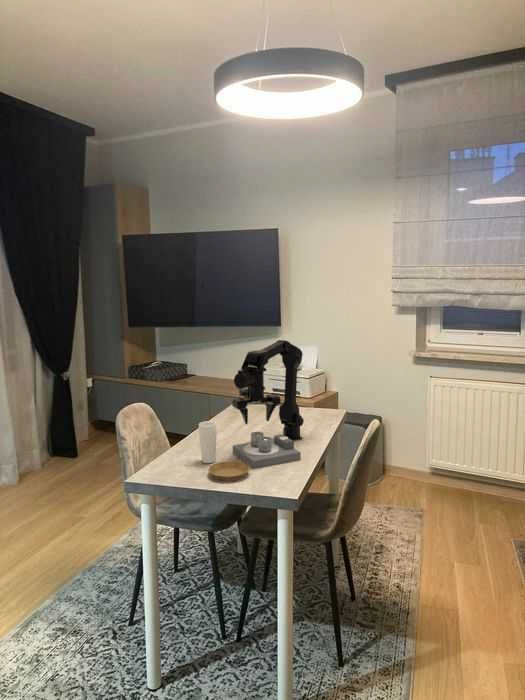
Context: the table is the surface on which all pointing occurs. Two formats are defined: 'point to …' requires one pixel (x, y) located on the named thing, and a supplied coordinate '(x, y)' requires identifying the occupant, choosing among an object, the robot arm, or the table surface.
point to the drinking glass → (208, 441)
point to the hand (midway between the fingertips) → (256, 422)
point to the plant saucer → (229, 470)
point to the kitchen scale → (279, 454)
